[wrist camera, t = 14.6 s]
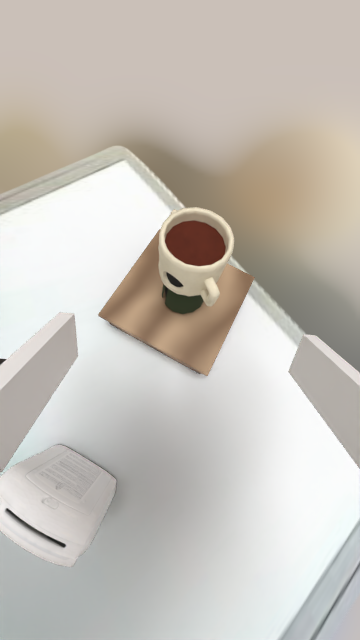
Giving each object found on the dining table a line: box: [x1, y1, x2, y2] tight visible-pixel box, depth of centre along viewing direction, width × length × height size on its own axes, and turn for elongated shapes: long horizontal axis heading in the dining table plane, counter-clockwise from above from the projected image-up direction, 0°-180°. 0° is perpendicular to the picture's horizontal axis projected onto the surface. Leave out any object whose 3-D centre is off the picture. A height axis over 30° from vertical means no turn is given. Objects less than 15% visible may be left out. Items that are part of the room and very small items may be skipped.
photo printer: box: [0, 444, 117, 567], centre depth 23 cm, size 10×4×12 cm, turn 62°
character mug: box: [158, 207, 234, 314], centre depth 27 cm, size 11×7×13 cm, turn 23°
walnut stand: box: [98, 229, 254, 376], centre depth 35 cm, size 17×17×5 cm
